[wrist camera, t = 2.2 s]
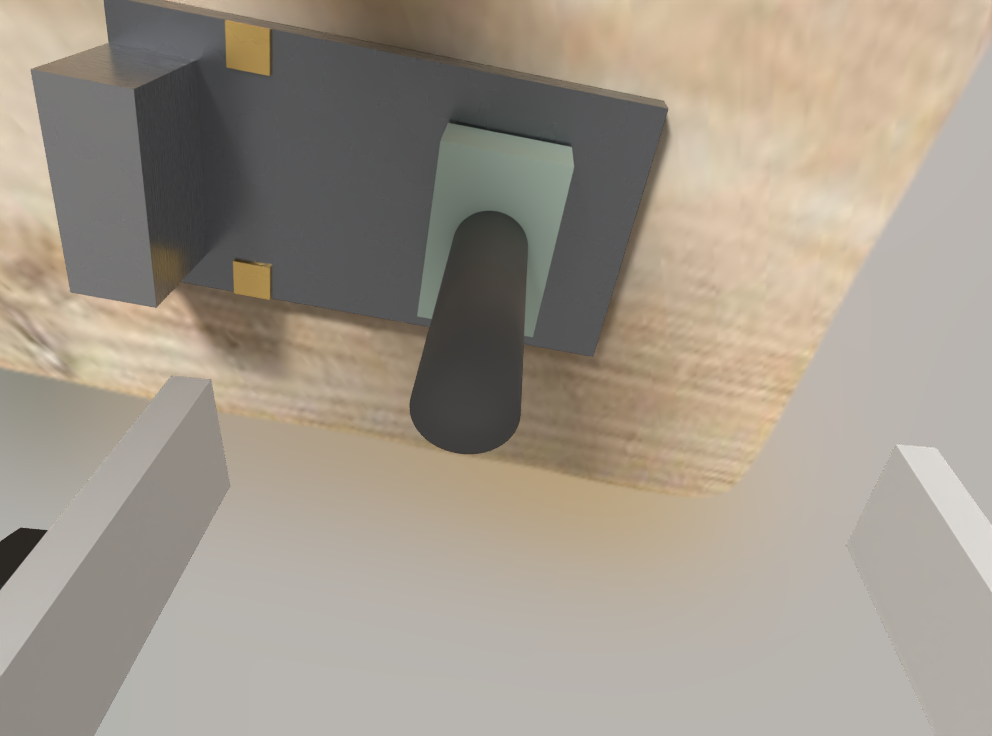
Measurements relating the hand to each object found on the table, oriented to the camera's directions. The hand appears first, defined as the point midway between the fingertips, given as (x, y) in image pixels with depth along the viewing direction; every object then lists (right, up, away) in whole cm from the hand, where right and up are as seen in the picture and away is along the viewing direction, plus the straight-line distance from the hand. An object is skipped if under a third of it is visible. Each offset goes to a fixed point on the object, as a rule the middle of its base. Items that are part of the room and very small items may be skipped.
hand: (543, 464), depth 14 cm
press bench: (-7, +11, +23) cm, 27 cm away
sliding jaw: (-1, +9, +22) cm, 24 cm away
